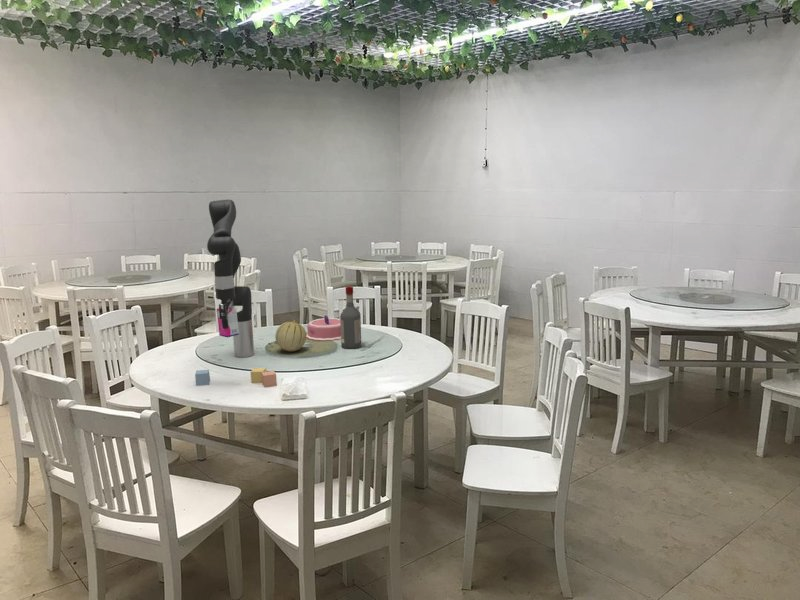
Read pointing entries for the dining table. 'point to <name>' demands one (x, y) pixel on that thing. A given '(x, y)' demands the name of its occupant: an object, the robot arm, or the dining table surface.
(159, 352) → the dining table surface
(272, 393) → the dining table surface
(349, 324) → the liquor
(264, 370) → the ochre block
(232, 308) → the supplement box
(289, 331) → the cantaloupe
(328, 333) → the cake
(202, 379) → the slate block
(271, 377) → the terracotta block
